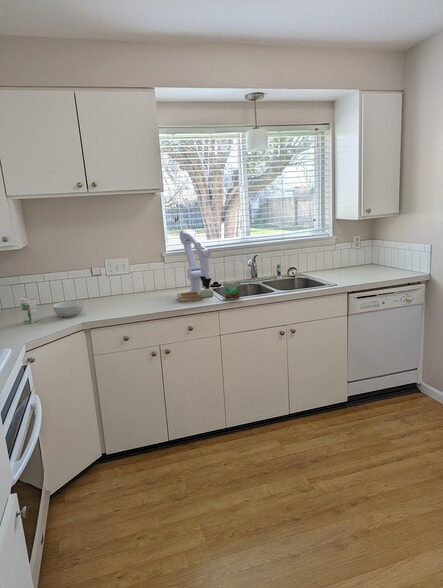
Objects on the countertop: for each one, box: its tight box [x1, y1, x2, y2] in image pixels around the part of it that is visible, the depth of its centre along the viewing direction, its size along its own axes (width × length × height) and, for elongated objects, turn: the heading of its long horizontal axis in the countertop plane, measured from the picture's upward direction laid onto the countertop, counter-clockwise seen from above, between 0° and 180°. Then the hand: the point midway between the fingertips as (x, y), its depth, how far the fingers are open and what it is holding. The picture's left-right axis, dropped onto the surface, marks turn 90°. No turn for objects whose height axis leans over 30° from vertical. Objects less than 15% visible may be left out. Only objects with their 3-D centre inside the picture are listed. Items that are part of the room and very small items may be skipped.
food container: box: [222, 281, 242, 300], centre depth 257 cm, size 12×6×10 cm, turn 62°
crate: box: [177, 291, 203, 303], centre depth 260 cm, size 10×14×4 cm
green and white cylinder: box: [19, 295, 39, 324], centre depth 224 cm, size 6×6×14 cm
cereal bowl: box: [52, 300, 85, 318], centre depth 235 cm, size 17×17×7 cm
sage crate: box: [200, 288, 214, 298], centre depth 266 cm, size 5×8×4 cm, turn 105°
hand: (206, 287), depth 265 cm, fingers open, 7 cm apart
